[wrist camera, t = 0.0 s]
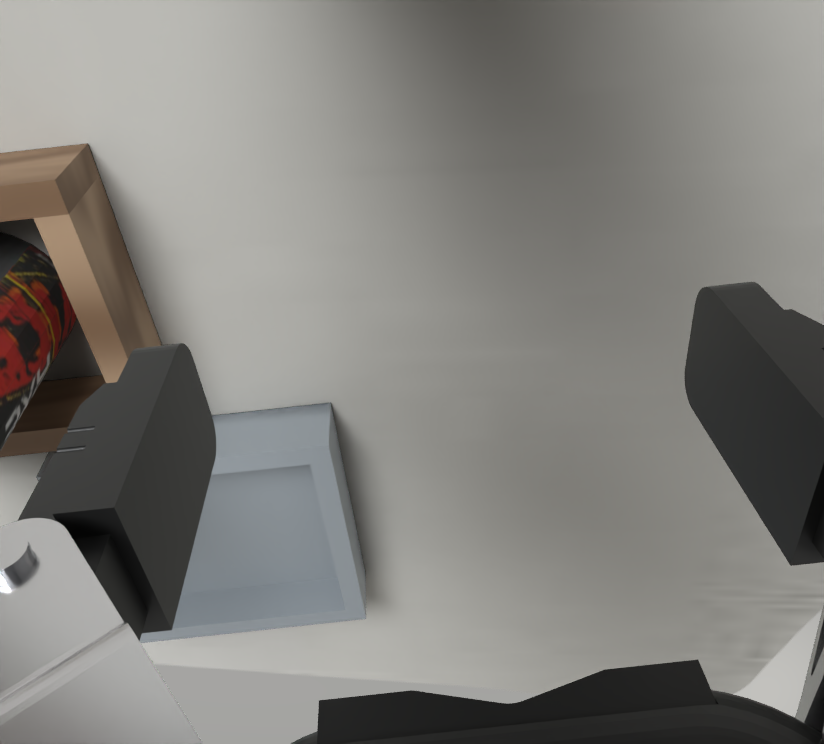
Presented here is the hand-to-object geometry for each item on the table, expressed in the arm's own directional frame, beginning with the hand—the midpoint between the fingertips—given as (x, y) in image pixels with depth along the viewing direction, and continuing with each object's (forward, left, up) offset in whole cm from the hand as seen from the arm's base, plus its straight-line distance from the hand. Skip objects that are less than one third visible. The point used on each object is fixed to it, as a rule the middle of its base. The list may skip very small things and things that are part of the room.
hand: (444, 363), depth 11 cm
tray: (+21, -11, -17) cm, 29 cm away
